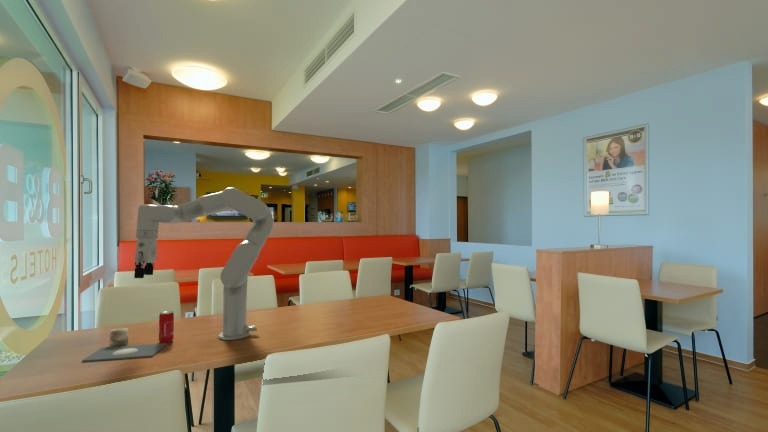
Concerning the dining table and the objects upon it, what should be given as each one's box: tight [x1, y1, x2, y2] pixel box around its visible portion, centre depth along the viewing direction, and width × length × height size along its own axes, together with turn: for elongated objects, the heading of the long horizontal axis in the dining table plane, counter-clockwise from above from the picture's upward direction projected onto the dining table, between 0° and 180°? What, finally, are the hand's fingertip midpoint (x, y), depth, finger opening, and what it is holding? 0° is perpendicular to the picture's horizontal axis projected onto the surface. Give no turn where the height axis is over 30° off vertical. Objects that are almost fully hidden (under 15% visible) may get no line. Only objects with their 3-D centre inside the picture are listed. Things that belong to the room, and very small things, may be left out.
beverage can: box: [158, 310, 175, 344], centre depth 151 cm, size 5×5×12 cm
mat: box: [81, 343, 167, 363], centre depth 138 cm, size 22×14×1 cm, turn 104°
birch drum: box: [108, 327, 129, 347], centre depth 147 cm, size 6×6×6 cm
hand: (143, 276), depth 150 cm, fingers open, 9 cm apart
